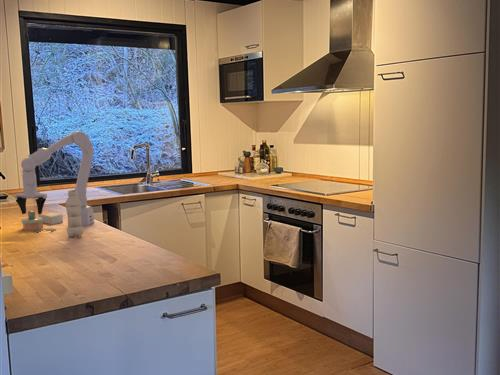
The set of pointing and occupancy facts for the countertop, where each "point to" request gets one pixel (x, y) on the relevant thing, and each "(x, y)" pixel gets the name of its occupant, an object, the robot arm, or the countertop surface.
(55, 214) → the skincare box
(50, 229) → the trivet
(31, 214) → the lid
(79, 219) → the plastic bottle
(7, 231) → the countertop surface
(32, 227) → the bowl
